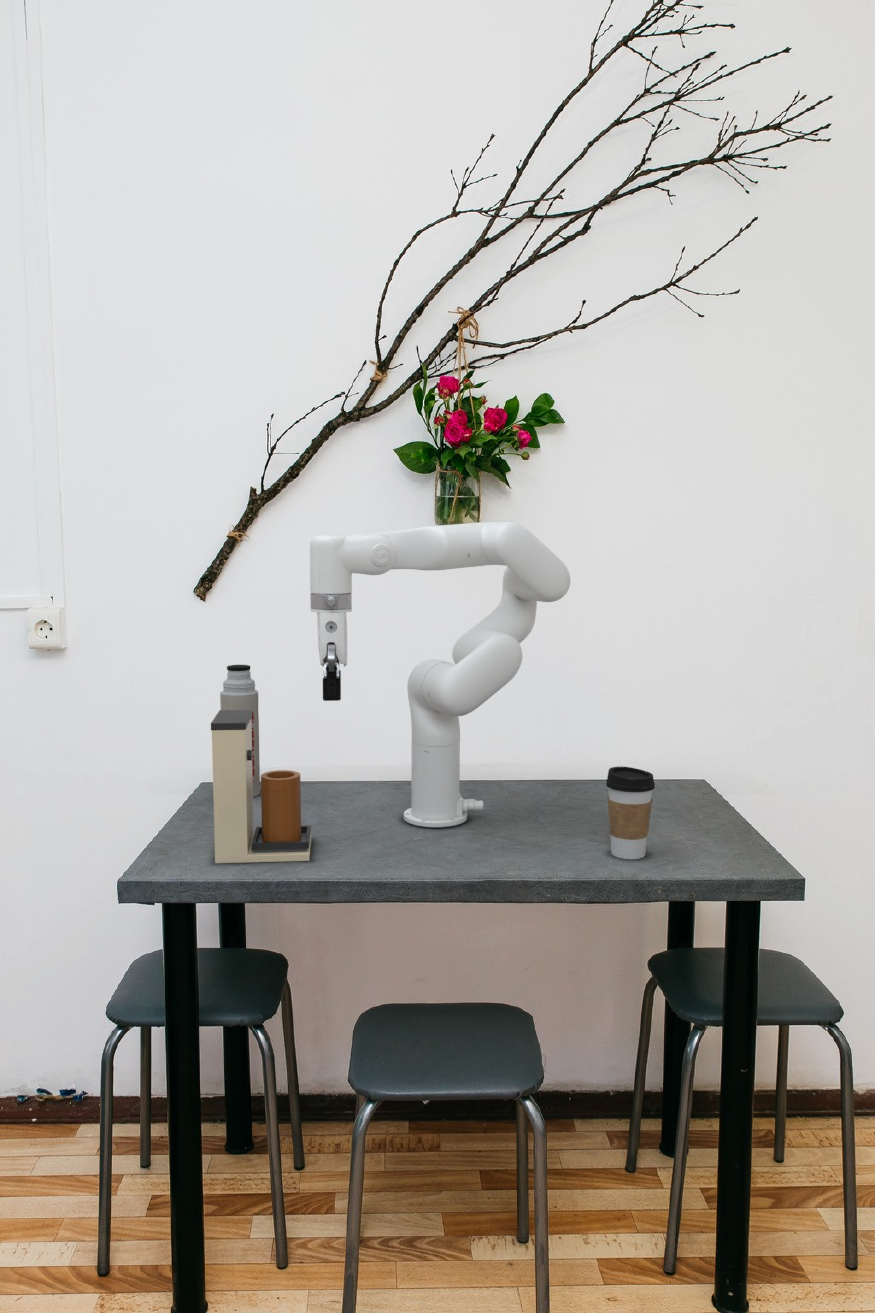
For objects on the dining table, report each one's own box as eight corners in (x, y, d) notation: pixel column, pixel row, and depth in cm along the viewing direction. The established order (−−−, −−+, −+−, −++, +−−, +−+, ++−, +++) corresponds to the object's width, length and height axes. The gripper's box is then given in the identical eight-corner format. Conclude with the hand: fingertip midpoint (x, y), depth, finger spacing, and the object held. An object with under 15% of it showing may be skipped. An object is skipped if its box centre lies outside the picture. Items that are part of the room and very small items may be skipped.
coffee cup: (618, 843, 181) (621, 763, 179) (660, 853, 176) (663, 770, 174) (595, 855, 174) (597, 771, 173) (638, 865, 169) (641, 779, 167)
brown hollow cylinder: (301, 834, 180) (300, 769, 178) (300, 846, 173) (299, 779, 171) (263, 835, 179) (262, 770, 177) (260, 847, 172) (259, 780, 171)
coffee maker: (311, 839, 183) (309, 709, 179) (309, 861, 171) (307, 722, 167) (222, 841, 181) (219, 710, 178) (214, 863, 169) (210, 723, 166)
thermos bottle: (262, 797, 211) (259, 667, 207) (223, 800, 209) (220, 668, 205) (258, 788, 218) (255, 662, 215) (221, 790, 216) (218, 663, 213)
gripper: (352, 606, 172) (353, 703, 174) (351, 599, 189) (352, 688, 191) (308, 607, 171) (310, 704, 174) (311, 599, 188) (312, 688, 191)
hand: (332, 695), depth 182 cm, fingers open, 9 cm apart
